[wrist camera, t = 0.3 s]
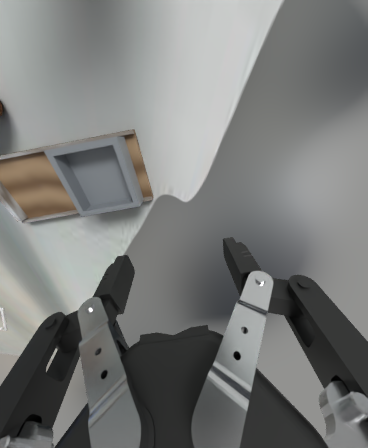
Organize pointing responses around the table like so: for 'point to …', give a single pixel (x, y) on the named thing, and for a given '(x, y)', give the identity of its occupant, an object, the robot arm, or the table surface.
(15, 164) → the rail board
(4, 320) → the photo frame
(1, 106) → the wooden figurine
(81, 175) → the shallow grey tray
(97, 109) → the table surface
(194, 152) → the table surface
